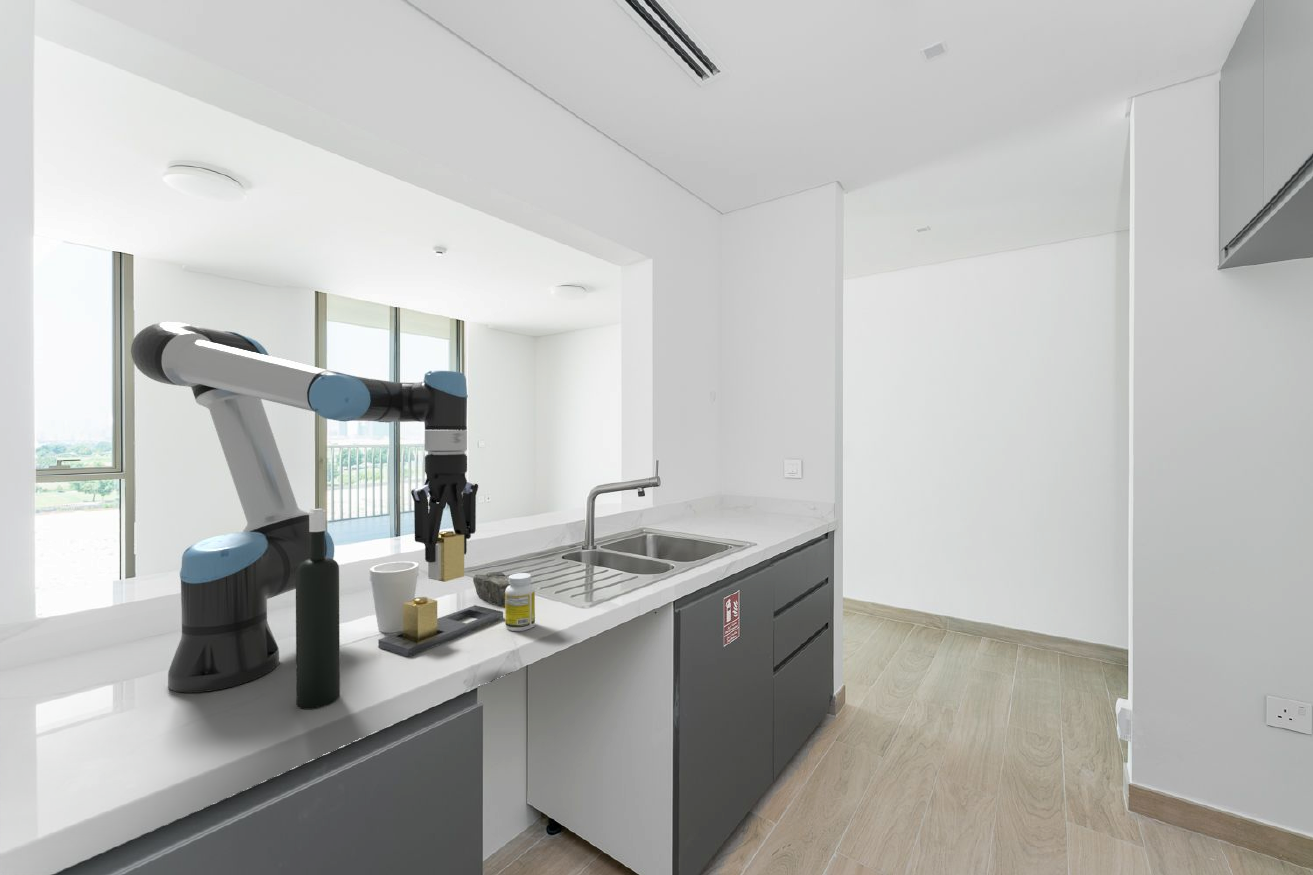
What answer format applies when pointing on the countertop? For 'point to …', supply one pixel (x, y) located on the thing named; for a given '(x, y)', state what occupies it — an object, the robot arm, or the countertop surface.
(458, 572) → the brass knobbed block
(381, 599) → the foam cup
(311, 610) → the wine bottle
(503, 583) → the stone
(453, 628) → the dark grey slotted tray
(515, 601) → the pill bottle
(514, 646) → the countertop surface
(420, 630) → the brass block with knob
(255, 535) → the robot arm
